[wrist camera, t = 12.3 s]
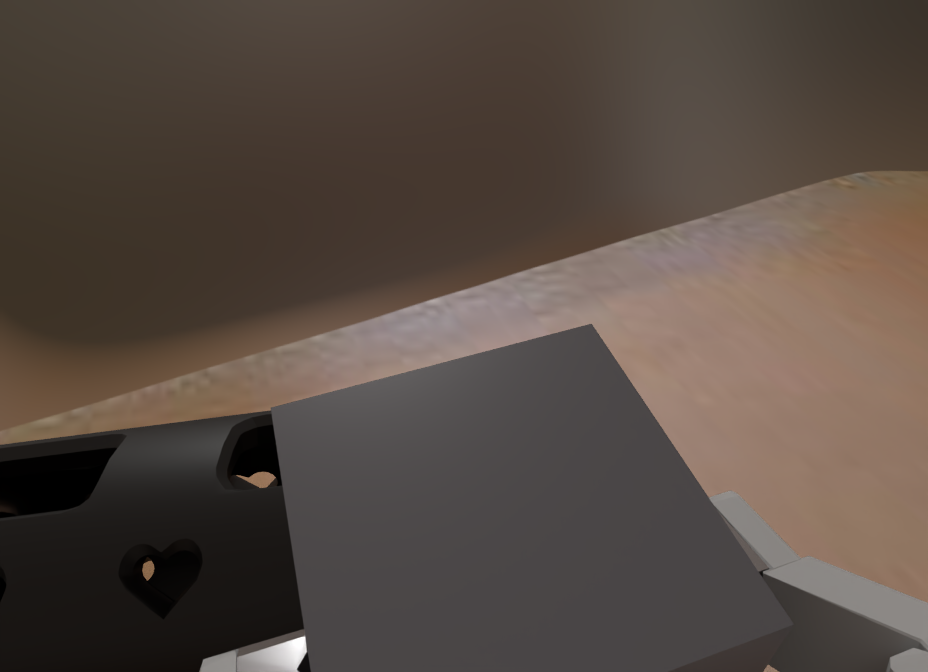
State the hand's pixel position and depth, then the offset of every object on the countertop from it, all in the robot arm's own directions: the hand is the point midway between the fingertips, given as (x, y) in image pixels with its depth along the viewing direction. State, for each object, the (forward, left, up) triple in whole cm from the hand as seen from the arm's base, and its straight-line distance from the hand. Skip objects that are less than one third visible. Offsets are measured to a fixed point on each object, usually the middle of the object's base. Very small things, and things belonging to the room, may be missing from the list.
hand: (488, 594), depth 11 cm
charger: (0, -1, -8) cm, 8 cm away
